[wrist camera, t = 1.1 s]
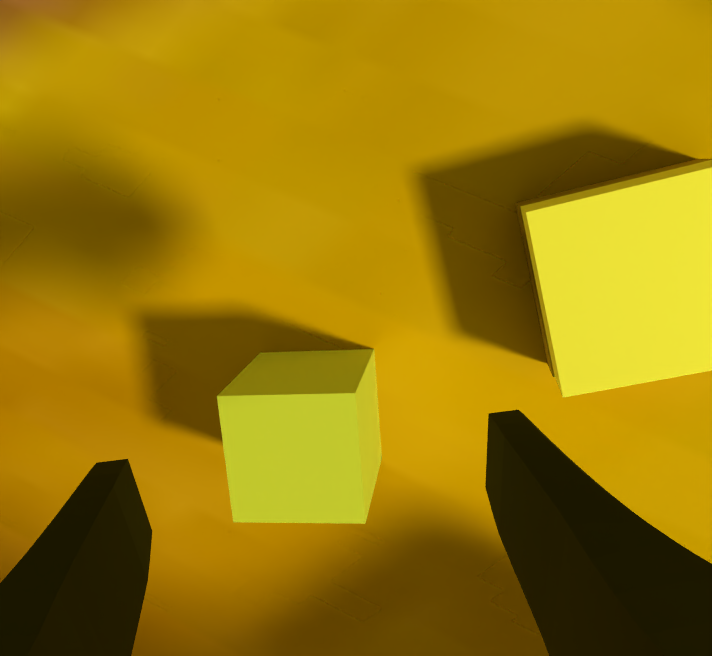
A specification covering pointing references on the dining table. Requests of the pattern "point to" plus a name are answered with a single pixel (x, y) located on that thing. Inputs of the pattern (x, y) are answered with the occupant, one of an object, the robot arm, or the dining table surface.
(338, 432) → the sage block
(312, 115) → the dining table surface
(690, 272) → the cream slab
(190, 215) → the dining table surface
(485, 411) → the dining table surface
